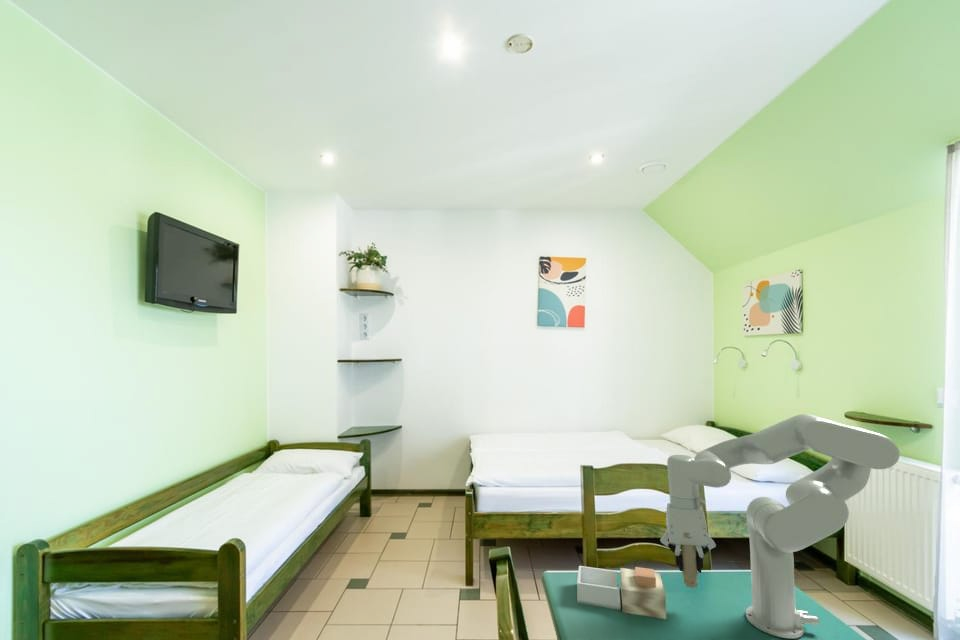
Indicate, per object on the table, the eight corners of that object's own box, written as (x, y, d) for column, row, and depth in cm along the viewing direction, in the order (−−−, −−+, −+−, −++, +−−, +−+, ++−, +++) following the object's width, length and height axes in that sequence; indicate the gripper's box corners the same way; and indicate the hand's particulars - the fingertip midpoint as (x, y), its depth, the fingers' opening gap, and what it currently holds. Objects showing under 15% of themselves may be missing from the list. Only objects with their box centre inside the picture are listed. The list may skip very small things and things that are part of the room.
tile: (653, 578, 124) (653, 569, 124) (655, 587, 119) (655, 578, 119) (635, 575, 125) (635, 566, 125) (636, 584, 120) (636, 575, 120)
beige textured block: (660, 594, 126) (659, 573, 126) (666, 619, 114) (665, 595, 115) (620, 588, 129) (620, 567, 129) (622, 612, 117) (622, 589, 118)
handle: (706, 590, 116) (702, 532, 117) (681, 589, 117) (677, 532, 118) (699, 581, 121) (695, 525, 122) (675, 580, 121) (671, 525, 123)
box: (619, 589, 128) (618, 571, 129) (620, 609, 118) (620, 589, 119) (579, 584, 131) (579, 565, 132) (577, 602, 122) (577, 583, 122)
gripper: (714, 498, 122) (719, 566, 120) (651, 495, 126) (655, 560, 125) (721, 508, 115) (727, 579, 113) (654, 504, 119) (658, 573, 118)
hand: (689, 568), depth 119 cm, fingers closed on handle, 4 cm apart
